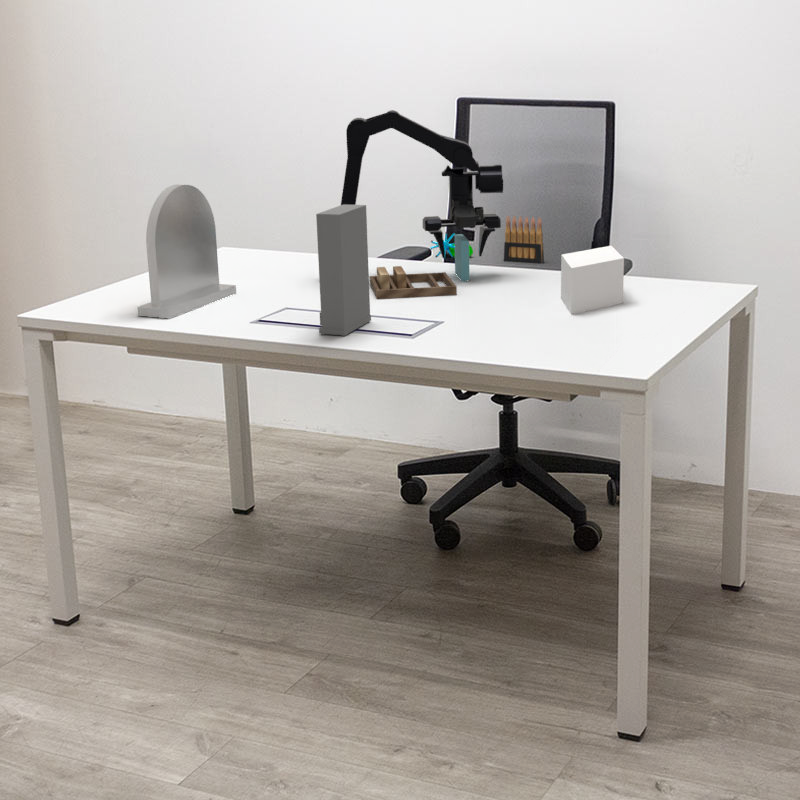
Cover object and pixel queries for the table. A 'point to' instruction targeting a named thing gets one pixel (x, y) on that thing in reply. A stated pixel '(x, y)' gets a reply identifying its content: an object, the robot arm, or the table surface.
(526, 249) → the ammunition clip
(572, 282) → the white rectangular block
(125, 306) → the table surface
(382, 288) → the pine offcut
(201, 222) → the award
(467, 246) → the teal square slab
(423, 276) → the rack
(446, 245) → the multicoloured piece
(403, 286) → the oak offcut
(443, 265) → the table surface
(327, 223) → the tall grey pillar
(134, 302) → the table surface
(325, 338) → the table surface
